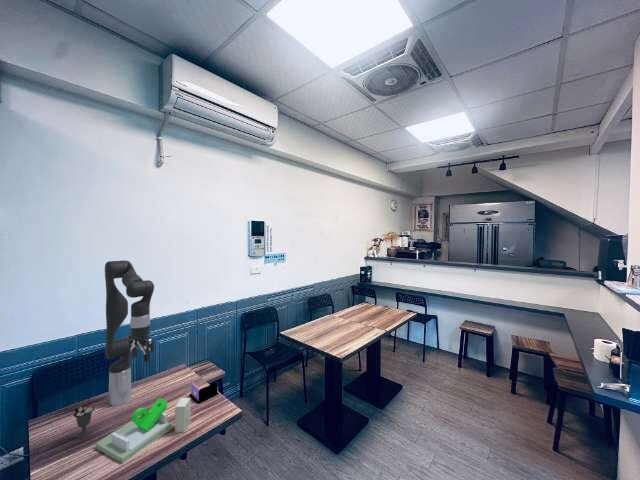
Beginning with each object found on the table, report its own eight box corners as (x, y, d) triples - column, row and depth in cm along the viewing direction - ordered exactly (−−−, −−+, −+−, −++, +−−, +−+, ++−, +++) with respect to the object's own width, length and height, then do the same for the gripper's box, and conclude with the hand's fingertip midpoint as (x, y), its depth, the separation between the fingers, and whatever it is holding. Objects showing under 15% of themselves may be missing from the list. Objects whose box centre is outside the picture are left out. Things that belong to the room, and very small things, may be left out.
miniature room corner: (198, 405, 132) (198, 391, 132) (188, 395, 140) (188, 383, 140) (220, 394, 142) (220, 382, 141) (209, 385, 149) (209, 374, 149)
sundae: (98, 430, 114) (97, 397, 114) (79, 442, 108) (79, 407, 108) (88, 427, 116) (88, 394, 116) (70, 438, 110) (69, 403, 110)
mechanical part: (148, 431, 111) (138, 422, 107) (139, 427, 113) (129, 418, 109) (170, 403, 120) (161, 394, 116) (161, 400, 123) (153, 390, 119)
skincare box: (181, 423, 119) (181, 397, 119) (190, 422, 120) (191, 397, 119) (174, 433, 113) (174, 406, 113) (184, 433, 113) (184, 406, 113)
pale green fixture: (95, 447, 105) (95, 433, 105) (145, 416, 124) (145, 404, 123) (122, 463, 98) (122, 448, 98) (171, 427, 116) (171, 414, 116)
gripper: (121, 324, 117) (122, 360, 117) (142, 329, 111) (142, 366, 112) (139, 319, 124) (139, 353, 124) (158, 324, 118) (158, 359, 119)
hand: (140, 359), depth 118 cm, fingers open, 8 cm apart
